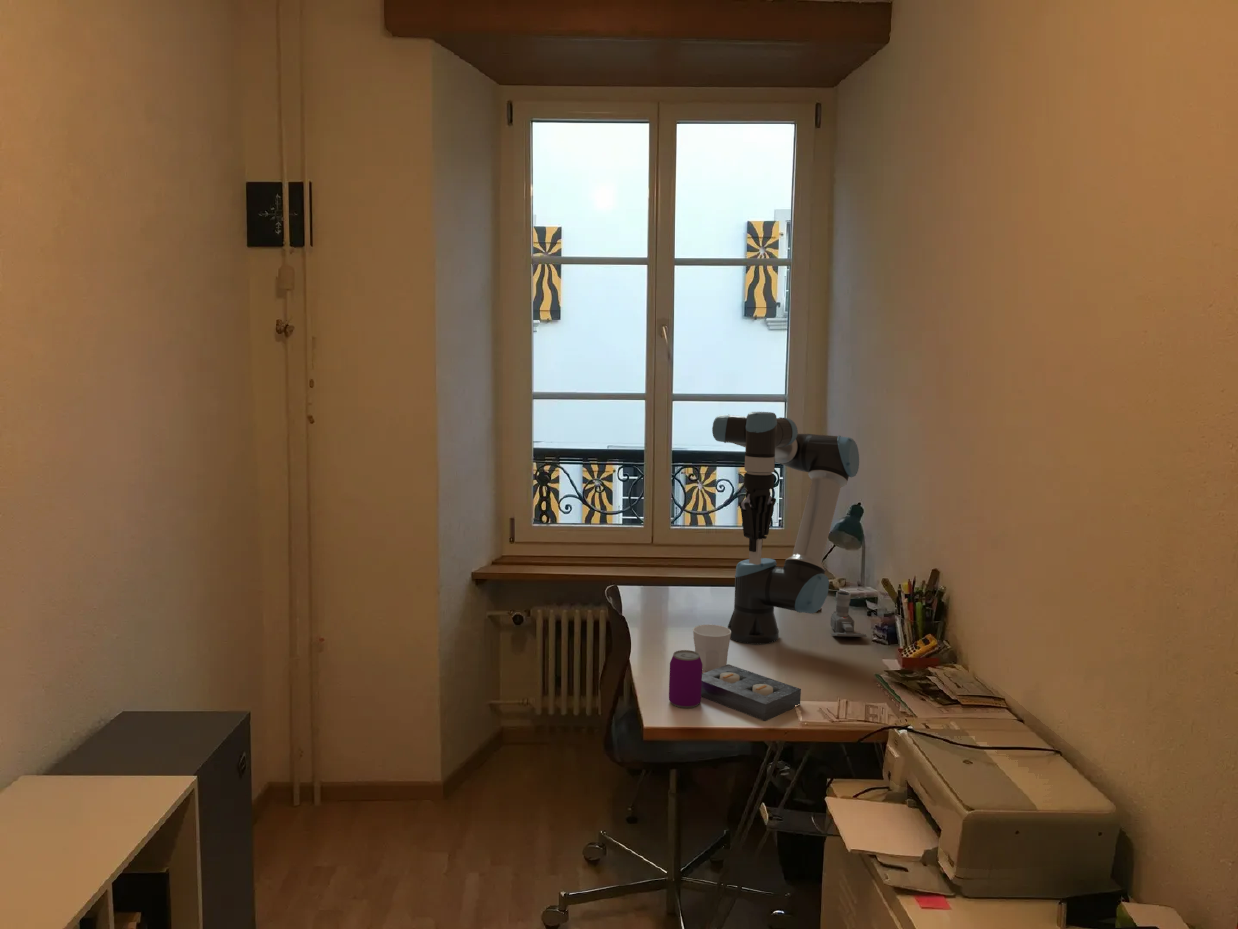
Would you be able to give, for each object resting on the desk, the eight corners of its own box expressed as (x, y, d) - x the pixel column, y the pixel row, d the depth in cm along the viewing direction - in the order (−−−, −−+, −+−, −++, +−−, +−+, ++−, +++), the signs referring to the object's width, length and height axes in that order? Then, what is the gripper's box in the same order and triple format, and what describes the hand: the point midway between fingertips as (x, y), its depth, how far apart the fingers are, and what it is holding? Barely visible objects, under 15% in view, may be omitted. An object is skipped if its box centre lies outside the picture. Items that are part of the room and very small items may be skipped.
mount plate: (727, 679, 224) (728, 664, 223) (800, 705, 208) (801, 689, 207) (691, 693, 214) (692, 677, 213) (764, 721, 198) (765, 704, 198)
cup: (691, 659, 238) (692, 624, 237) (727, 660, 237) (729, 625, 236) (692, 672, 228) (694, 635, 227) (731, 673, 228) (732, 637, 226)
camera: (854, 590, 268) (868, 605, 253) (852, 627, 270) (866, 644, 255) (826, 589, 268) (838, 604, 253) (824, 626, 270) (836, 643, 255)
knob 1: (727, 686, 218) (728, 669, 217) (742, 691, 214) (743, 675, 214) (715, 691, 214) (715, 674, 214) (730, 696, 211) (731, 680, 210)
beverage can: (664, 706, 205) (666, 657, 204) (674, 694, 212) (675, 647, 211) (695, 711, 203) (697, 662, 201) (704, 699, 210) (706, 651, 208)
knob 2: (759, 698, 211) (760, 681, 210) (776, 704, 207) (777, 687, 207) (747, 703, 207) (748, 686, 207) (764, 709, 204) (765, 692, 203)
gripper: (762, 469, 229) (758, 557, 232) (731, 473, 220) (727, 564, 223) (786, 472, 224) (781, 562, 227) (755, 476, 215) (751, 570, 218)
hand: (754, 563), depth 225 cm, fingers closed
